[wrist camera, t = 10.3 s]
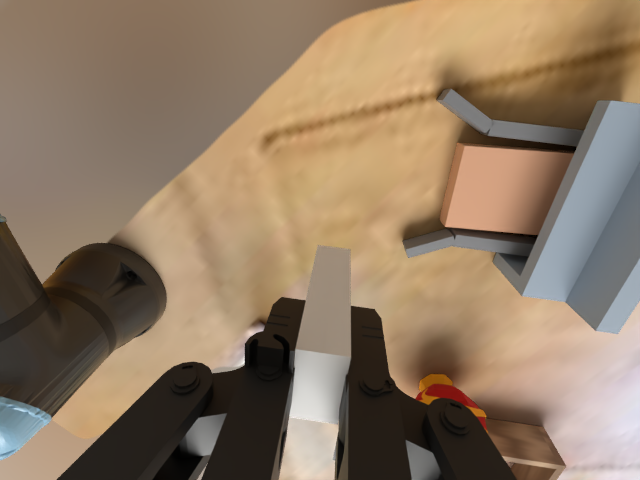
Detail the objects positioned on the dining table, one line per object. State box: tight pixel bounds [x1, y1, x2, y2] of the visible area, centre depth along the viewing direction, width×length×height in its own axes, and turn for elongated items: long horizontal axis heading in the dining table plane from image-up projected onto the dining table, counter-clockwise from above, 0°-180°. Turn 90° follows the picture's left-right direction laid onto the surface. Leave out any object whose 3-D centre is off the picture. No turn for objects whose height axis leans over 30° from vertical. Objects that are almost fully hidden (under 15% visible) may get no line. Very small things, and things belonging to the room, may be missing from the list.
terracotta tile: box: [439, 143, 575, 235], centre depth 35 cm, size 12×9×3 cm
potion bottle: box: [416, 374, 488, 433], centre depth 43 cm, size 10×10×15 cm
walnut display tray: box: [485, 418, 566, 480], centre depth 52 cm, size 14×17×6 cm
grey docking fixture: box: [403, 89, 640, 334], centre depth 31 cm, size 18×19×12 cm
